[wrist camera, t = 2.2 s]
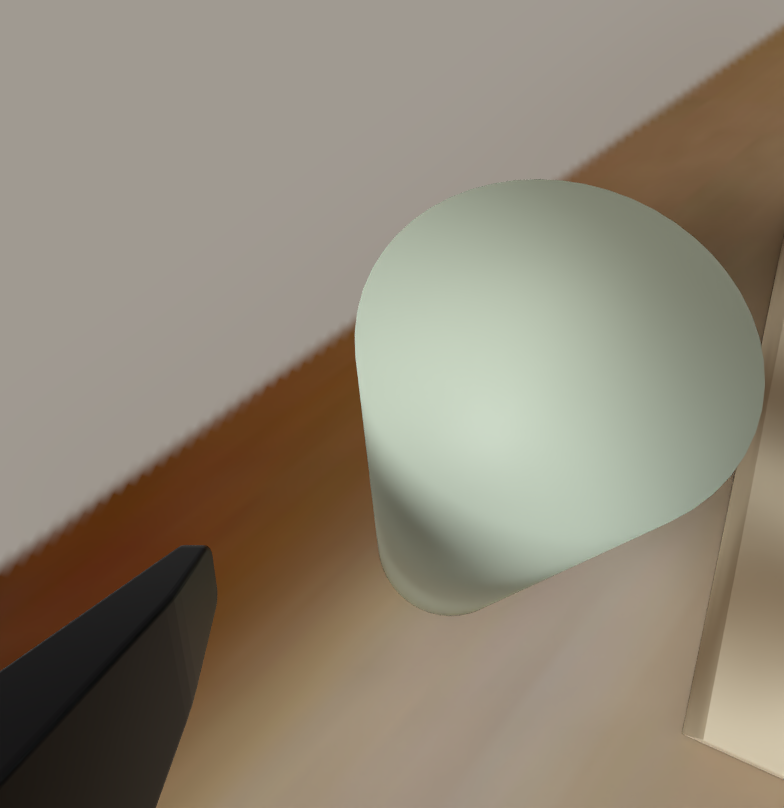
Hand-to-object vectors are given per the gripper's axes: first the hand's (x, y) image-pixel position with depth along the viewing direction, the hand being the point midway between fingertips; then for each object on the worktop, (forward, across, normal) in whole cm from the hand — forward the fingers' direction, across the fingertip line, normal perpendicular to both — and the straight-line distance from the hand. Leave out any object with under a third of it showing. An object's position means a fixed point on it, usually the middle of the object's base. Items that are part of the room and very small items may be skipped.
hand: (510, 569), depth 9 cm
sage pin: (+8, 0, +5) cm, 10 cm away
